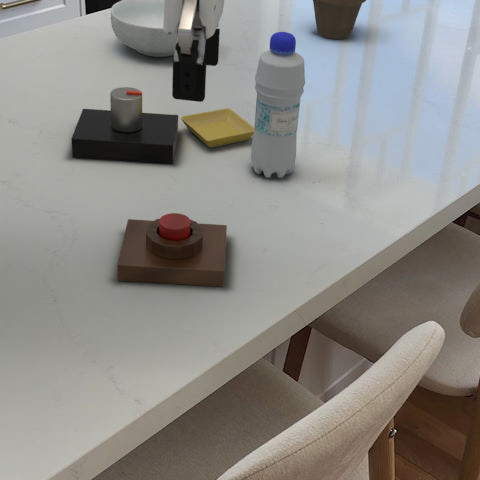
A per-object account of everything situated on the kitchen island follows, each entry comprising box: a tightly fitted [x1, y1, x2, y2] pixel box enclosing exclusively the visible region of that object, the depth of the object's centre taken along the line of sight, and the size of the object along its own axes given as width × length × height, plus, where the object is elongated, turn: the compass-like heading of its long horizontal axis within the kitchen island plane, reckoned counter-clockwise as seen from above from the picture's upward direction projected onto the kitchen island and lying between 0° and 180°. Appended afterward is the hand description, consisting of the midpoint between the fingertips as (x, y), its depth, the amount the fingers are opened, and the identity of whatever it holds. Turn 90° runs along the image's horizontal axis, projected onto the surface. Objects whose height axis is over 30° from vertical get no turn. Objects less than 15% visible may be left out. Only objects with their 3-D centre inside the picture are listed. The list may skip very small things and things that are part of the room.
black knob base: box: [70, 108, 179, 165], centre depth 128 cm, size 14×10×3 cm
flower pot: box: [312, 0, 367, 40], centre depth 172 cm, size 12×11×10 cm
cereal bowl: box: [110, 0, 178, 58], centre depth 159 cm, size 17×17×7 cm
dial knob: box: [109, 86, 143, 132], centre depth 125 cm, size 4×4×5 cm
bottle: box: [250, 31, 306, 179], centre depth 120 cm, size 7×7×20 cm
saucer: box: [180, 108, 255, 148], centre depth 133 cm, size 9×9×2 cm
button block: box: [117, 218, 228, 287], centre depth 104 cm, size 12×10×4 cm
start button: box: [159, 212, 191, 241], centre depth 103 cm, size 4×4×2 cm
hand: (196, 80), depth 92 cm, fingers open, 9 cm apart
